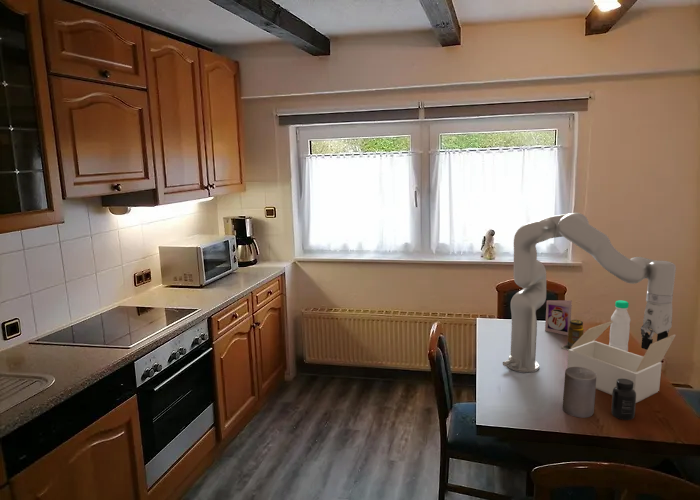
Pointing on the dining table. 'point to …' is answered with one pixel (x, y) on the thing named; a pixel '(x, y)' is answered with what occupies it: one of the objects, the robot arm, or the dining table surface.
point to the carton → (616, 368)
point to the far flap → (591, 334)
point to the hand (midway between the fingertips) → (654, 345)
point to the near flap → (655, 352)
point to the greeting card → (558, 316)
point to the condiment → (574, 333)
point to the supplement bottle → (623, 400)
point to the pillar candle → (579, 392)
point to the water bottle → (620, 326)
